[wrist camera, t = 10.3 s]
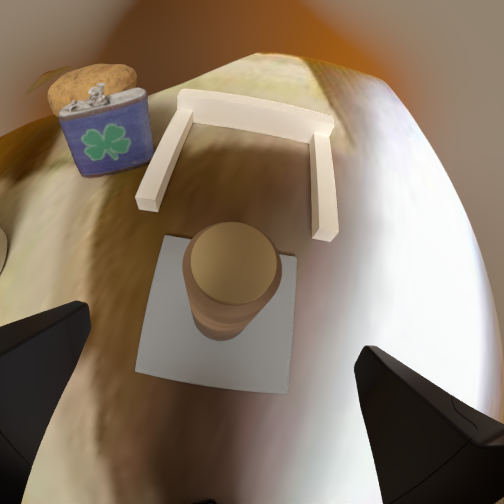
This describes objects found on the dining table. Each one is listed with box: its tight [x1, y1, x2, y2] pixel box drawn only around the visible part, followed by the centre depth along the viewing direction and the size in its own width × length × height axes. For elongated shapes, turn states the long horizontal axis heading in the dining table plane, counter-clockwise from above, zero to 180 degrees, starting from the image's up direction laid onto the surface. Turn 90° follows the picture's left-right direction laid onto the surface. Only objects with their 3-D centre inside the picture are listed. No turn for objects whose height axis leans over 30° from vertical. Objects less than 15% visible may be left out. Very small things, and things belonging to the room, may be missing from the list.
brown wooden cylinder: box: [182, 221, 282, 341], centre depth 16 cm, size 4×4×11 cm
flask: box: [58, 83, 155, 178], centre depth 22 cm, size 9×3×11 cm, turn 105°
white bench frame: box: [135, 89, 339, 242], centre depth 27 cm, size 16×19×4 cm
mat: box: [135, 235, 297, 394], centre depth 21 cm, size 12×12×1 cm
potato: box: [48, 64, 137, 117], centre depth 26 cm, size 10×14×8 cm
